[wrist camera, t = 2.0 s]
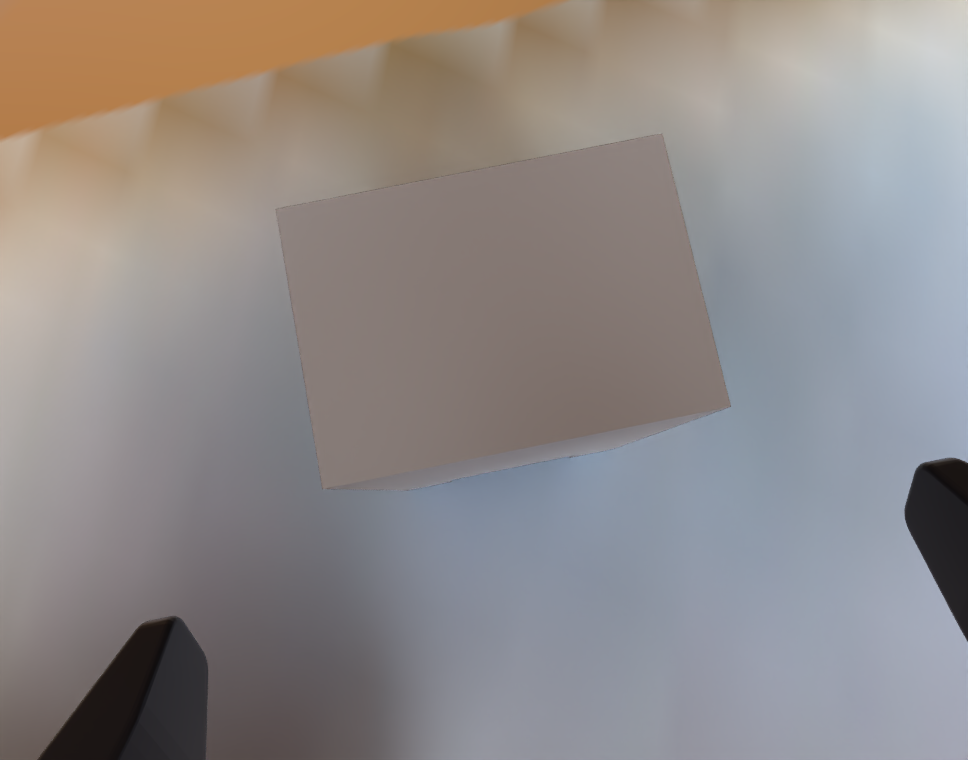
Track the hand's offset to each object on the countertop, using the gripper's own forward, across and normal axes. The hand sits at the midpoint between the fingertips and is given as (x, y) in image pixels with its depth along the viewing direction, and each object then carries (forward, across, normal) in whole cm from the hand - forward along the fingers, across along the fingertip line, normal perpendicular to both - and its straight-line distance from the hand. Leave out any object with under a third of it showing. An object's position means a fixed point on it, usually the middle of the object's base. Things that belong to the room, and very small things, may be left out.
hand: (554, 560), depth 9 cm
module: (+10, 0, +5) cm, 11 cm away
